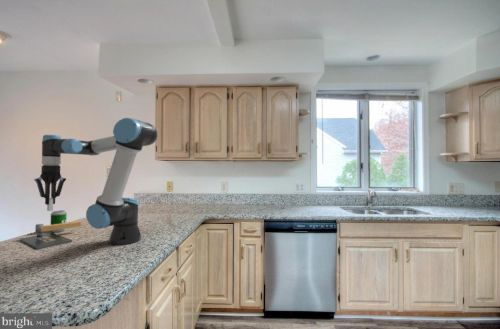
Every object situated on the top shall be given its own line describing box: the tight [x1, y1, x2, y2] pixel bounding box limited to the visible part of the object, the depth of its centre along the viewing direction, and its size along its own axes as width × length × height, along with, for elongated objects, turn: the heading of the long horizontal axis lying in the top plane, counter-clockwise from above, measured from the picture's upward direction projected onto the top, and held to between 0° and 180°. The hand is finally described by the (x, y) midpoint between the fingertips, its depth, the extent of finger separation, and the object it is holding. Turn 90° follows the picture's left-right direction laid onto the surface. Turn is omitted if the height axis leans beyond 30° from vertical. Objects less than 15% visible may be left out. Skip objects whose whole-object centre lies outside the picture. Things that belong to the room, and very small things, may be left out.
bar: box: [34, 220, 82, 234], centre depth 138 cm, size 20×3×4 cm, turn 137°
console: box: [19, 232, 73, 250], centre depth 127 cm, size 24×14×3 cm, turn 58°
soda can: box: [50, 210, 68, 233], centre depth 147 cm, size 8×8×12 cm
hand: (49, 210), depth 125 cm, fingers closed
